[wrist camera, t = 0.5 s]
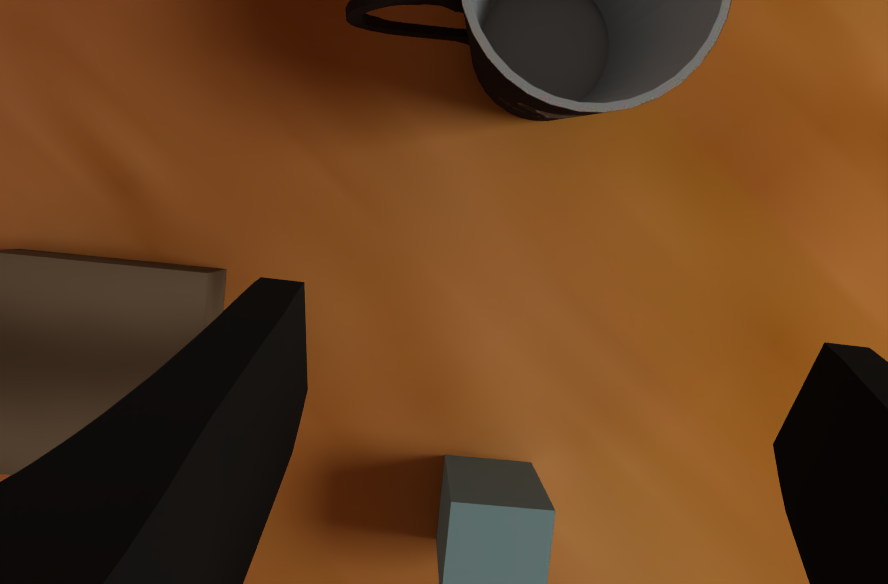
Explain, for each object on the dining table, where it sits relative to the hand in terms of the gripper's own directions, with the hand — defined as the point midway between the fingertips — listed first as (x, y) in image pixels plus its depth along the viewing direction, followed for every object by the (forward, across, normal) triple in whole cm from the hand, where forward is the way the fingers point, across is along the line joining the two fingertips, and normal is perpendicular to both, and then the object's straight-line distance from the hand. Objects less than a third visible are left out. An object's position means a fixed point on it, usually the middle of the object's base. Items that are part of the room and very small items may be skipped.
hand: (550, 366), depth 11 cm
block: (+14, -1, +21) cm, 26 cm away
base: (+16, +16, +17) cm, 28 cm away
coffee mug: (+26, 0, +4) cm, 26 cm away
